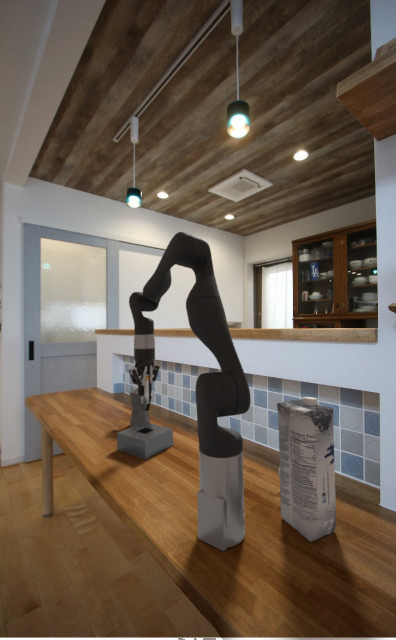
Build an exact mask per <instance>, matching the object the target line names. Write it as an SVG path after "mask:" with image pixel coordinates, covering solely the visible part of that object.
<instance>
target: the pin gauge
mask: <svg viewBox="0 0 396 640" xmlns="http://www.w3.org/2000/svg"><path fill="white" fill-rule="evenodd" d="M141 377H142V376H141ZM144 394H145V395H144V396H141V404H149V375H146V379H145V381H144Z"/></svg>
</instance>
